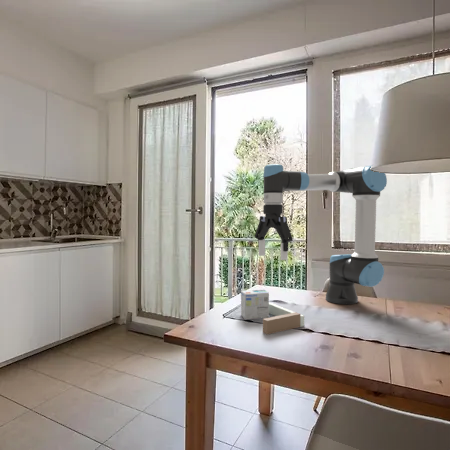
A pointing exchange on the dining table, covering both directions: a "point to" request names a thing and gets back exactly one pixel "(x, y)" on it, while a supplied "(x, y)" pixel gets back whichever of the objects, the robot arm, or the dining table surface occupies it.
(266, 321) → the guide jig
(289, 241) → the robot arm
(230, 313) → the dining table surface
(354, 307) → the dining table surface
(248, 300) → the light bulb box
